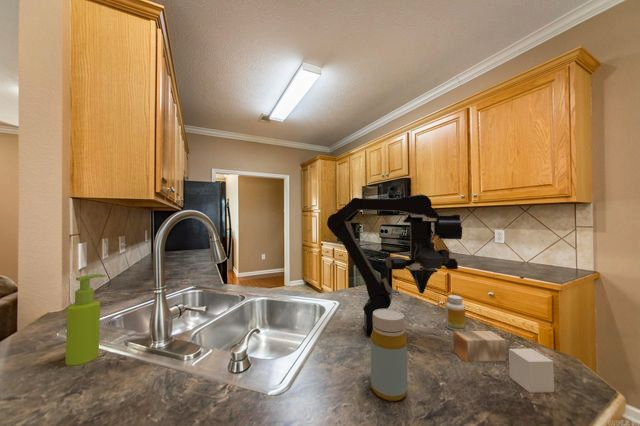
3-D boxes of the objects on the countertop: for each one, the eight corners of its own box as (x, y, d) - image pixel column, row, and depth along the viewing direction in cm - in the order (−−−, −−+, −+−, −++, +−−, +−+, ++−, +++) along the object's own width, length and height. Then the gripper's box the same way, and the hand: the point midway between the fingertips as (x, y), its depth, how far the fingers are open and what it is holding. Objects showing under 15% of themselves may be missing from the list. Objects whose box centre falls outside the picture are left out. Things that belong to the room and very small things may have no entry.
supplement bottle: (469, 331, 76) (468, 299, 76) (451, 331, 76) (450, 299, 76) (459, 324, 81) (459, 294, 82) (443, 324, 81) (442, 294, 82)
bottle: (407, 383, 52) (406, 310, 52) (407, 406, 45) (406, 323, 46) (373, 376, 54) (372, 306, 55) (368, 397, 48) (368, 318, 48)
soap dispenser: (108, 353, 63) (110, 274, 64) (72, 368, 57) (75, 279, 58) (96, 348, 66) (98, 272, 66) (60, 362, 59) (63, 277, 60)
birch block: (465, 340, 60) (505, 339, 60) (453, 331, 65) (490, 330, 65) (465, 361, 60) (505, 360, 60) (453, 350, 65) (491, 350, 65)
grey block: (529, 392, 49) (528, 361, 49) (509, 376, 54) (508, 348, 54) (554, 392, 49) (553, 361, 49) (531, 376, 54) (531, 348, 54)
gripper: (398, 240, 64) (398, 302, 63) (470, 240, 64) (471, 302, 64) (385, 237, 75) (385, 290, 74) (446, 237, 75) (447, 289, 75)
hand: (421, 293), depth 72 cm, fingers closed
